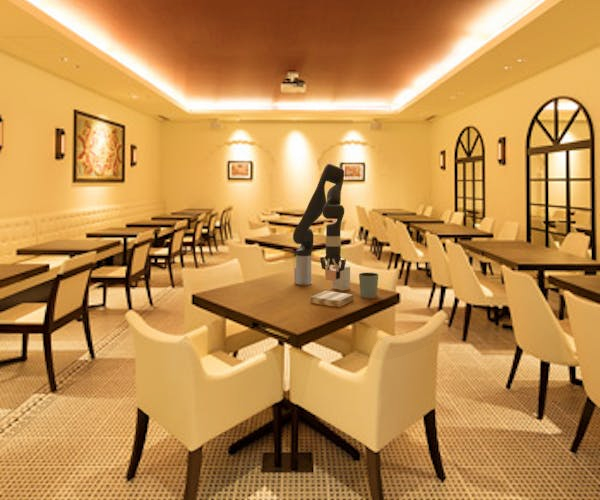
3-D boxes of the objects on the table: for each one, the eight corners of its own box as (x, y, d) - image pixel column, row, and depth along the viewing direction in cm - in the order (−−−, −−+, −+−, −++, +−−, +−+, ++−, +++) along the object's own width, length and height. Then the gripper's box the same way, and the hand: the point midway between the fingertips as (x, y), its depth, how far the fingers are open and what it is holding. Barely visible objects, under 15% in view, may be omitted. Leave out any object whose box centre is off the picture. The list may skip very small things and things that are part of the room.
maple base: (310, 302, 233) (310, 296, 233) (325, 296, 247) (325, 290, 246) (339, 307, 225) (339, 301, 224) (353, 300, 238) (353, 294, 238)
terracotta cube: (325, 279, 233) (326, 270, 233) (330, 278, 238) (330, 268, 237) (334, 280, 231) (334, 271, 230) (339, 279, 235) (339, 269, 234)
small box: (350, 289, 263) (350, 266, 261) (342, 290, 259) (342, 267, 257) (340, 286, 269) (340, 264, 267) (332, 288, 265) (332, 265, 263)
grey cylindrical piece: (379, 298, 242) (380, 275, 241) (360, 298, 241) (361, 276, 240) (375, 293, 252) (375, 272, 251) (356, 294, 251) (357, 272, 250)
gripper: (316, 244, 232) (316, 278, 235) (342, 246, 225) (342, 281, 227) (324, 243, 239) (323, 275, 241) (349, 245, 231) (348, 278, 234)
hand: (332, 278), depth 234 cm, fingers closed on terracotta cube, 5 cm apart
